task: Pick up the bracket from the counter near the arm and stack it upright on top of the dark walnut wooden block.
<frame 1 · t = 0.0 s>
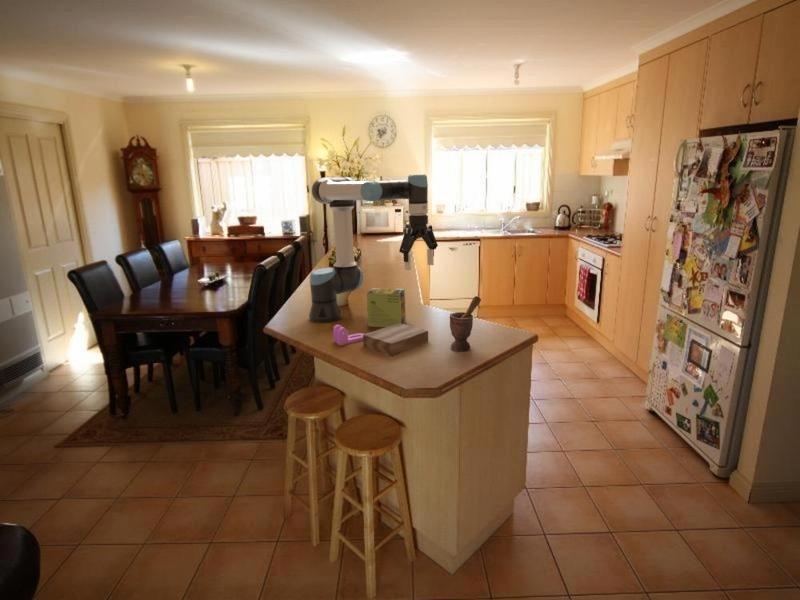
hand: (419, 267, 193), 28 cm above the table, tool pointing down, fingers open, 13 cm apart
walnut block: (396, 344, 186), on the table
mortar and pestle: (464, 347, 182), on the table
bracket: (351, 341, 194), on the table
protein box: (387, 324, 214), on the table
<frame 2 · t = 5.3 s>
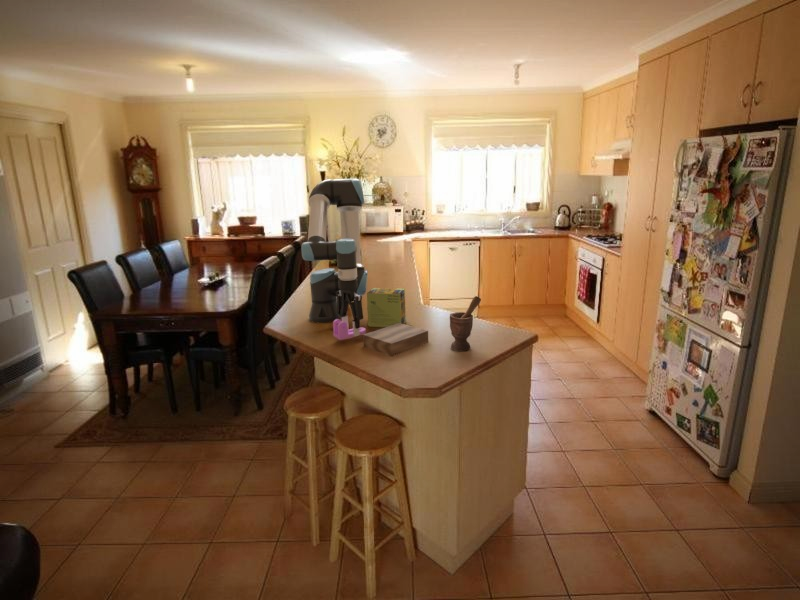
hand: (351, 333, 193), 3 cm above the table, tool pointing down, fingers closed on bracket, 6 cm apart
bracket: (351, 335, 194), point 2 cm above the table, touching gripper
everything else where it was.
when the fingers open (6 cm above the table, at t = 10.1 s): bracket stays where it is, resting on walnut block.
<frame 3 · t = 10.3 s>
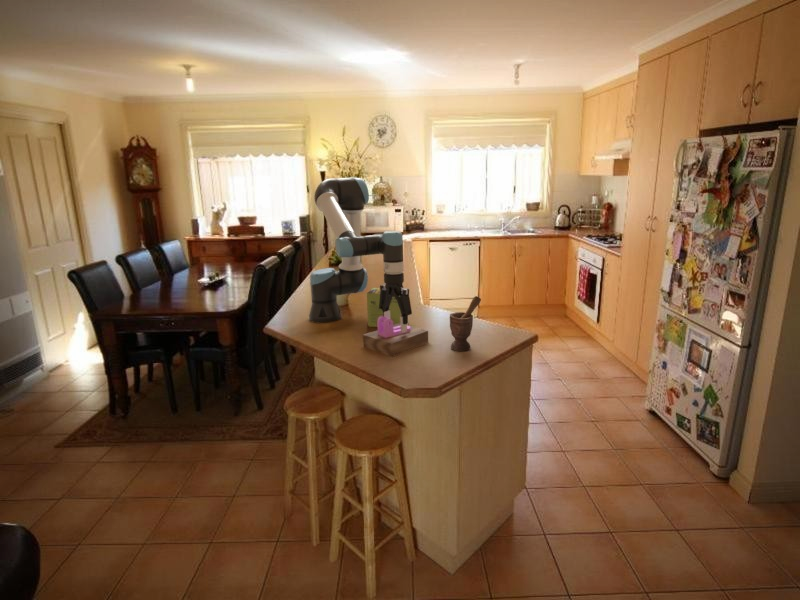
hand: (395, 329, 185), 6 cm above the table, tool pointing down, fingers open, 8 cm apart
bracket: (395, 333, 185), point 5 cm above the table, touching walnut block
everything else where it was.
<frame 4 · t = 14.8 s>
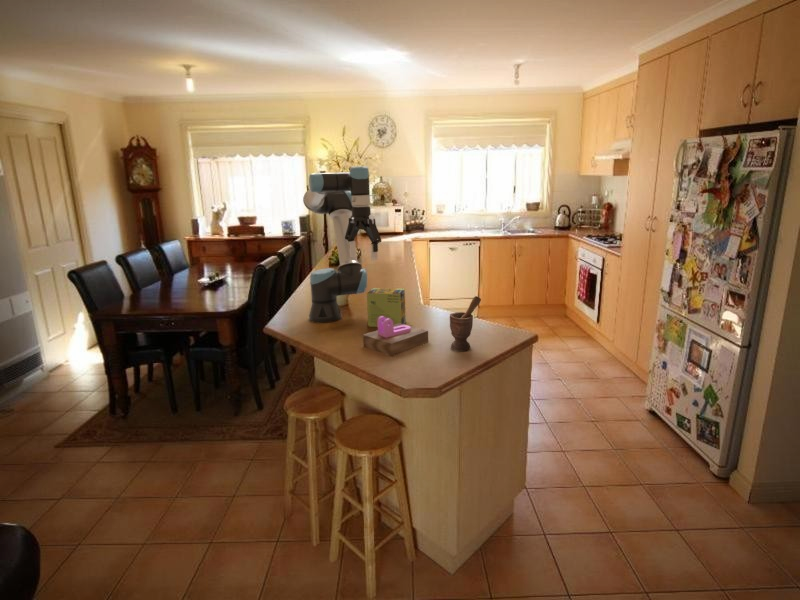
hand: (363, 258, 197), 32 cm above the table, tool pointing down, fingers open, 13 cm apart
nothing on the table moved.
at the end: bracket inside the target area on the walnut block (0.1 cm from its centre), point 4.8 cm above the walnut block's base; bracket tilted 0°; the gripper is holding nothing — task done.
